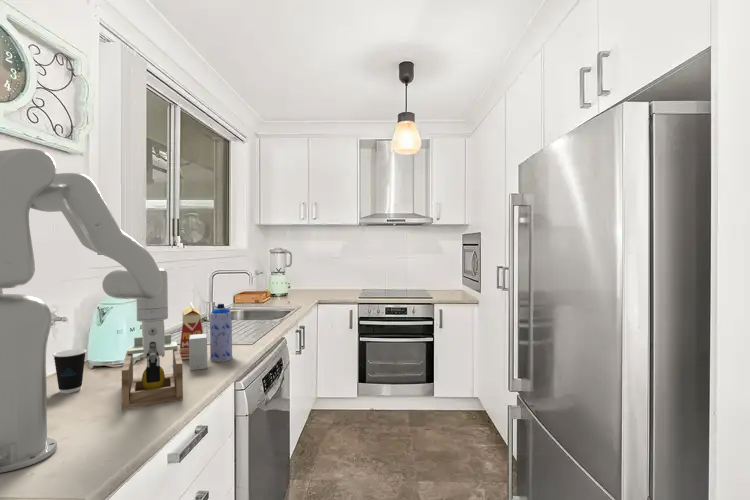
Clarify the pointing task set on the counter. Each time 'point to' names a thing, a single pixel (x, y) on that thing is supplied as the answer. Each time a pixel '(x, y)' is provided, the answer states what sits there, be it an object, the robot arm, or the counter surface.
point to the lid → (168, 344)
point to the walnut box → (140, 396)
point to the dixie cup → (69, 369)
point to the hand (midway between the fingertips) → (153, 376)
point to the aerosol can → (220, 334)
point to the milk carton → (189, 329)
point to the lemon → (153, 384)
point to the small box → (198, 351)
